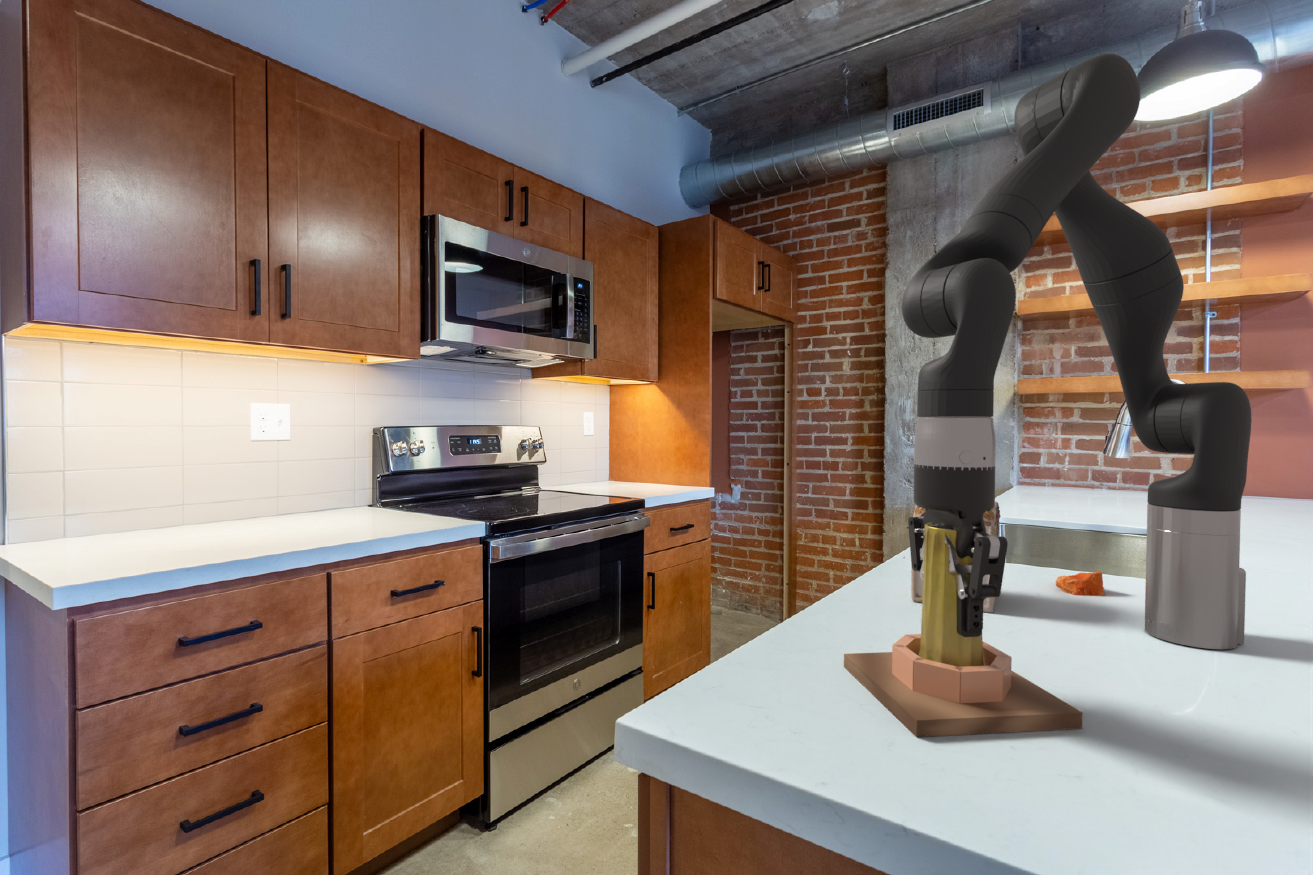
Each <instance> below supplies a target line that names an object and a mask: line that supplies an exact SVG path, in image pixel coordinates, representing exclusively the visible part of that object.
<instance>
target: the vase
mask: <svg viewBox="0 0 1313 875" xmlns="http://www.w3.org/2000/svg"><path fill="white" fill-rule="evenodd" d="M928 524H932V523H927V524H925V529H924V533H925V536H924V569H923V596H922V603H921V605H922V607H921V620H920V622H921V623H920V624H921V626H920V632H921V633H920V634H921V645H920V652H919V655H918V656H919V657H921V658H922V659H927V660H931V661H935V662H940V663H944V664H948V665H953V666H957V667H966V666H984V661H983V642H984V641H983V633H982V634H981V635H980V636H979V637H963V636H961V635H960V634H958V632H957V598H960V597H959V596H958V592H957V587H956V583H955V577H954V576H953V575H951V574H950V573H949V572H948V546H947V545H946V544H945V542H944V538H945V535H946V536H947V537H948V538H949V539H950V541H951V542H952V544H953V546H954V548H955V550H956V538H957V534H956V530H950V529H940V528H934V527H930V526H928ZM956 554H957V551H956ZM957 559H958V562H959V564H961V565H972V560H973V559H972V558H970V557H969V556H967V557H965V558H959V557H958V555H957ZM970 575H971V574H966V580H967V585H968V586H969V583H970Z"/></svg>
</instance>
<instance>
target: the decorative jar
mask: <svg viewBox="0 0 1313 875" xmlns="http://www.w3.org/2000/svg"><path fill="white" fill-rule="evenodd" d="M925 510H926V509H925V508H921V507H919V506H917V505H916V504H915V508H914V510H913V516H912V517H920V516H924V514H925ZM1000 518H1001V511H1000V506H999V503H998V502H997V501H996V500H995V506H994V508H993V509H991V510H989V511H986V512H985V513H984V514H983V520H984V525H985V528H986V533H988V534H989V535H991V536H993V537H1000ZM921 537H922V538H923V536H921ZM921 550H922V548H921V549H920V554H921ZM920 560H923V559H922V558H921V557H920ZM910 572H911V577H910V578H911V579H910V580H911V585H910V587H911V588H910V591H911V592H910V593H911V594H910V595H911V597H910V598H911V601H912V602H914V603H921V604H922V596H923V580H922V579H921V577H920V572H919V571H914V570H913V569H912V564H911V570H910ZM989 577H990V575H985V580H986V584H989ZM997 598H998V597H989V598H985V599H984V602H983V613H988V614H991V613H993V612H994V609H995V605H996V602H997Z"/></svg>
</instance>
